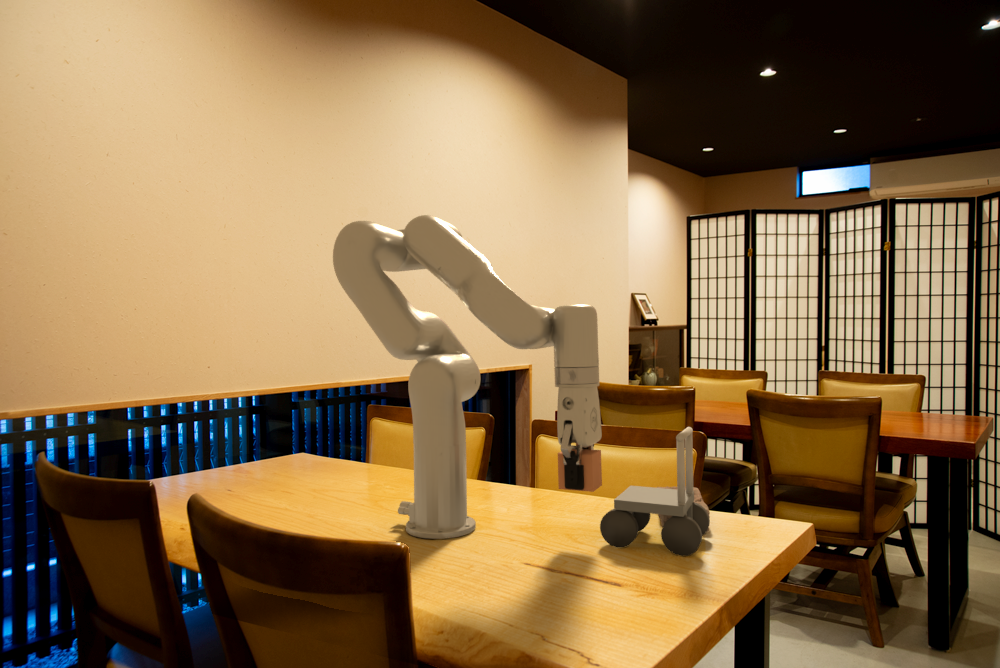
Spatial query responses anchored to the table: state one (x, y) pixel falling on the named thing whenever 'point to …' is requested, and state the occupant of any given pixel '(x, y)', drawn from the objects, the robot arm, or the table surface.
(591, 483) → the block
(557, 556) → the table surface
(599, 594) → the table surface
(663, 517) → the brick
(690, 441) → the trolley
